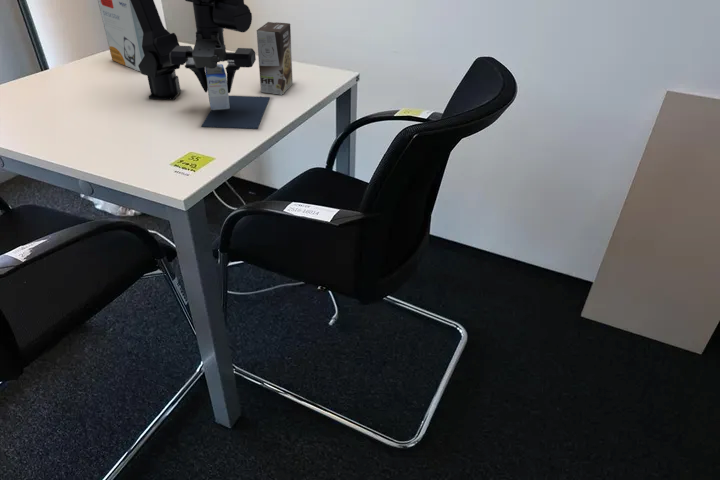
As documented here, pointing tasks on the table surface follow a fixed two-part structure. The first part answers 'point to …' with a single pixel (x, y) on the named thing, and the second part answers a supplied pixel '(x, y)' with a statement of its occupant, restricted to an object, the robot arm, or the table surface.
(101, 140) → the table surface
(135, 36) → the hard drive box
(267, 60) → the coffee box
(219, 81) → the medicine box
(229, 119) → the mat
